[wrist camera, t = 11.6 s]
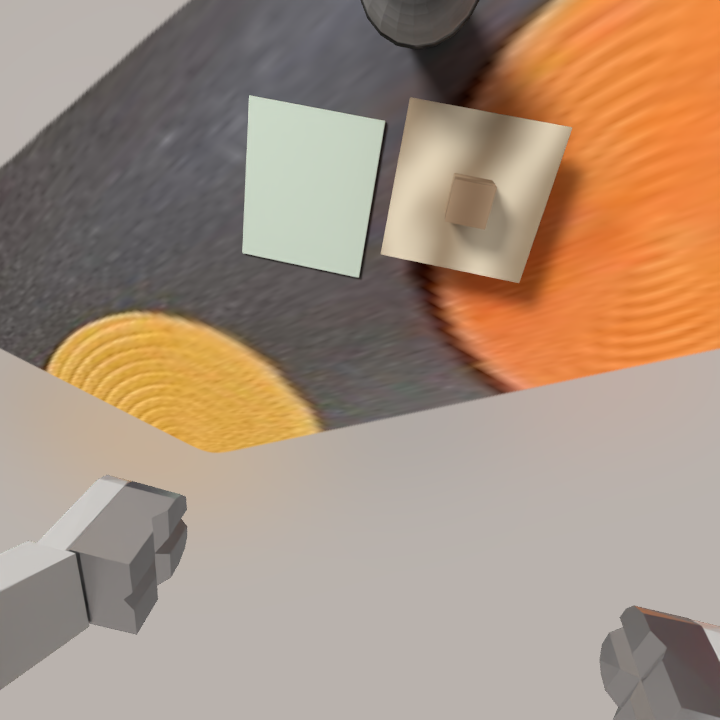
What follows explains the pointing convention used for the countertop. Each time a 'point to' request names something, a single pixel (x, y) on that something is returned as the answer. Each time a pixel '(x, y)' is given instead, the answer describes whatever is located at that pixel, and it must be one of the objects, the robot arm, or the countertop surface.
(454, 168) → the cover
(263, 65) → the countertop surface
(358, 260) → the mat
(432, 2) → the beverage cup
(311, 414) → the countertop surface
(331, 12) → the countertop surface
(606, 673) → the robot arm
